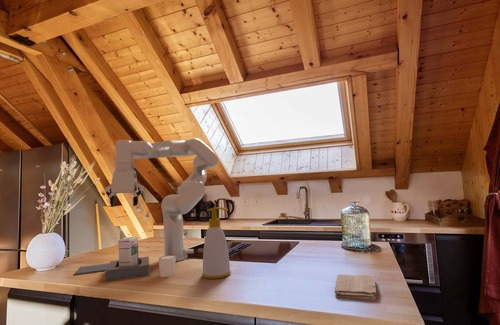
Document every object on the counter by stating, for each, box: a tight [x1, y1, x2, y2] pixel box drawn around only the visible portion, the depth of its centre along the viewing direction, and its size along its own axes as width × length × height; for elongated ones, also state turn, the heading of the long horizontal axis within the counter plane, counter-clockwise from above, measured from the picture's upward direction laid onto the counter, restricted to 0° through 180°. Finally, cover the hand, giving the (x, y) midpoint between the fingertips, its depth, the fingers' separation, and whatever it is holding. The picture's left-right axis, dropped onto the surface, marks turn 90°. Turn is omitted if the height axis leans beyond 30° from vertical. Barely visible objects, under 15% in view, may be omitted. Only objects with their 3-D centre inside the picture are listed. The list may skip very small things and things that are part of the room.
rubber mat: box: [73, 262, 110, 276], centre depth 129 cm, size 12×12×1 cm
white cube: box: [157, 256, 177, 278], centre depth 115 cm, size 7×7×7 cm
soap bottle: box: [201, 206, 232, 280], centre depth 113 cm, size 11×12×26 cm
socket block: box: [104, 256, 150, 282], centre depth 121 cm, size 16×16×4 cm
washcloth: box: [334, 274, 377, 302], centre depth 90 cm, size 12×18×3 cm, turn 161°
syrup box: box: [117, 236, 140, 267], centre depth 122 cm, size 6×6×14 cm
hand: (124, 206), depth 127 cm, fingers open, 9 cm apart
